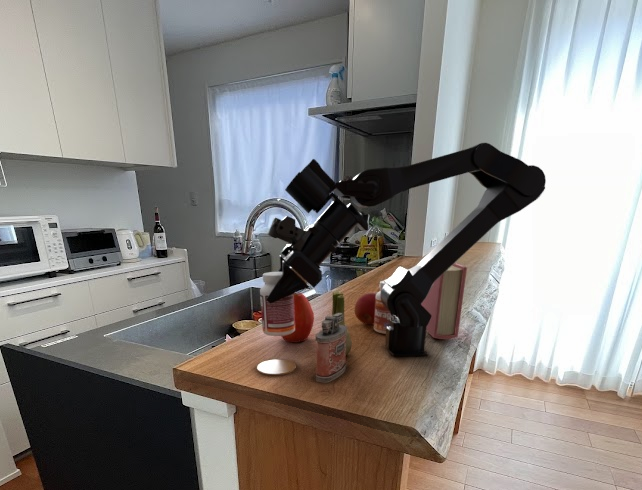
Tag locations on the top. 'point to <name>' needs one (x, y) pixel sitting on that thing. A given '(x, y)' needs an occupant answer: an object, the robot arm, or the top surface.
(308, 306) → the apple
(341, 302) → the fennel bulb
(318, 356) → the lighter
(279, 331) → the pill bottle
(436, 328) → the book
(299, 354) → the top surface
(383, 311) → the pill bottle
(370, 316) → the apple
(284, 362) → the gold disc
